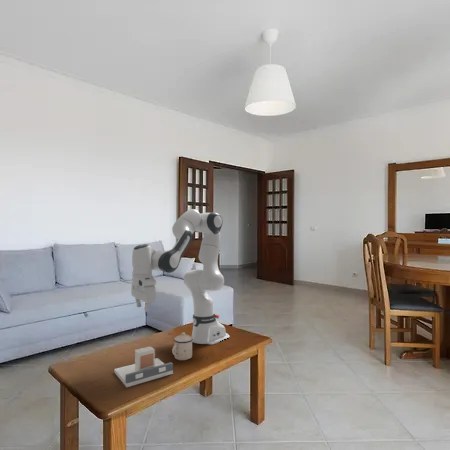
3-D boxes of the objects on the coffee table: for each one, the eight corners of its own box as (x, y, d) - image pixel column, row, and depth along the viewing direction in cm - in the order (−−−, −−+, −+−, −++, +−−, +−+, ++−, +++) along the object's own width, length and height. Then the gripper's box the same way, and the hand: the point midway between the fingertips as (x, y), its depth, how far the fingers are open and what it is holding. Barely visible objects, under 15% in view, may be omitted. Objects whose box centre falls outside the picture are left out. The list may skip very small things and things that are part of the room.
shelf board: (157, 361, 149) (157, 351, 149) (173, 374, 135) (173, 363, 135) (114, 372, 137) (114, 362, 137) (126, 387, 124) (127, 376, 124)
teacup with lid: (182, 351, 160) (182, 328, 160) (196, 355, 155) (196, 331, 155) (165, 359, 150) (165, 335, 150) (180, 364, 145) (180, 339, 145)
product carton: (150, 366, 139) (150, 346, 139) (154, 370, 135) (154, 349, 135) (134, 370, 135) (135, 349, 135) (139, 375, 131) (139, 353, 131)
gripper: (127, 277, 154) (128, 305, 154) (144, 283, 138) (145, 315, 138) (140, 275, 158) (140, 303, 158) (157, 281, 141) (158, 312, 141)
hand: (142, 309), depth 148 cm, fingers open, 8 cm apart
